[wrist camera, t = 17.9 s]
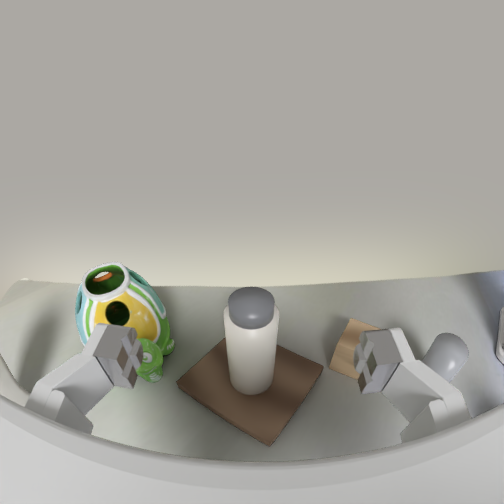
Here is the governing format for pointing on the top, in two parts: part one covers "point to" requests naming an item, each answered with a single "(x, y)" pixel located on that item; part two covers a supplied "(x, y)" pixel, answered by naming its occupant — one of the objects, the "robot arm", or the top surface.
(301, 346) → the top surface
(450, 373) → the grey cylinder
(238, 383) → the plastic bottle
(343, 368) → the oak block
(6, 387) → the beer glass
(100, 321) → the turtle holder
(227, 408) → the walnut board
